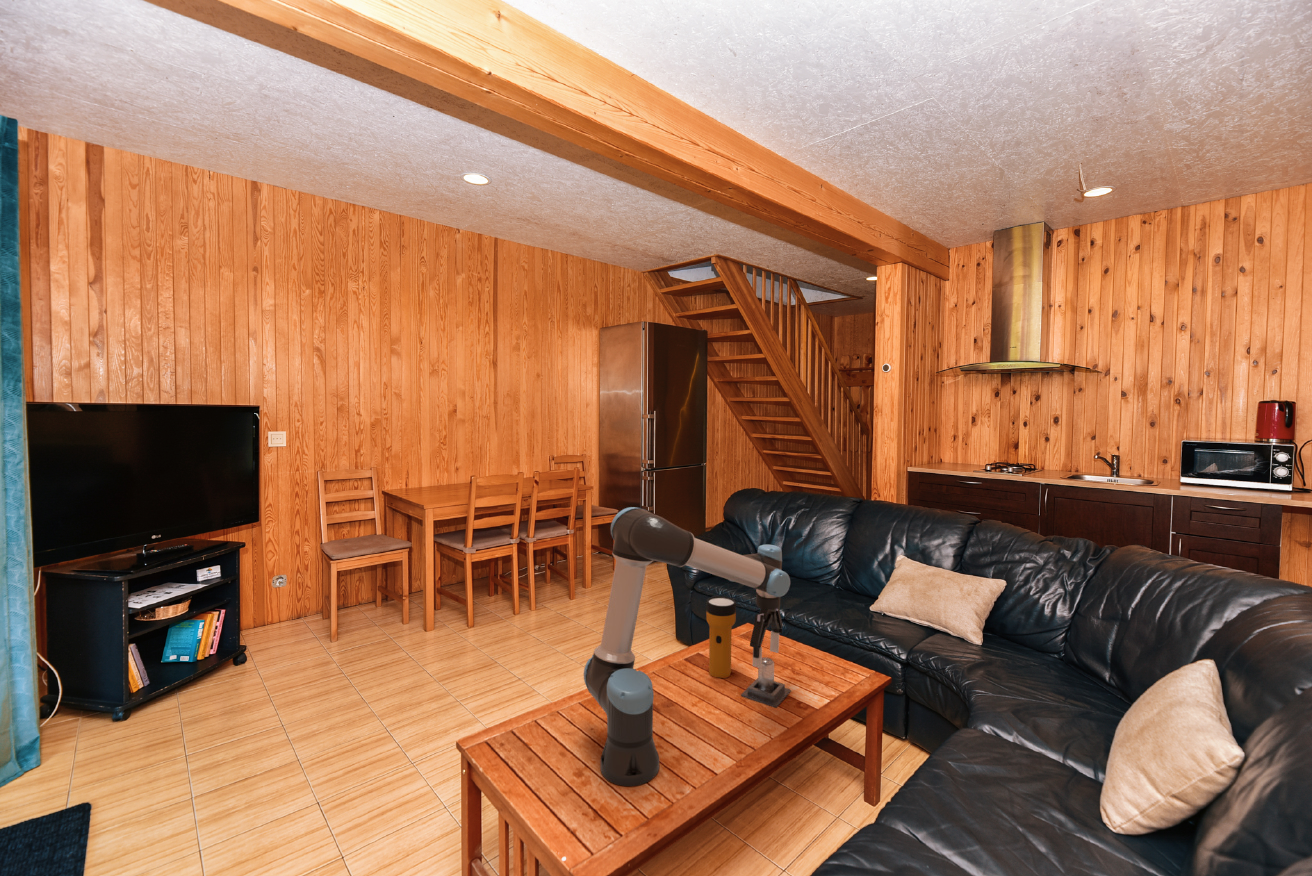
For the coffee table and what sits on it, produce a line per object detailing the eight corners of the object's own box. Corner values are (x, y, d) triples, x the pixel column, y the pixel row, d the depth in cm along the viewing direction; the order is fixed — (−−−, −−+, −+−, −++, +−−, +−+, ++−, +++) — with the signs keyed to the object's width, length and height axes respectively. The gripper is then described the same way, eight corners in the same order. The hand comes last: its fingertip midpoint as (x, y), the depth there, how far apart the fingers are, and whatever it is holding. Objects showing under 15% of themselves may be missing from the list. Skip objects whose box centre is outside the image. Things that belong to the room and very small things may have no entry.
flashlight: (738, 596, 196) (733, 606, 187) (737, 668, 198) (732, 682, 189) (709, 593, 199) (703, 603, 190) (709, 664, 201) (703, 677, 192)
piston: (770, 697, 177) (770, 665, 177) (755, 693, 180) (755, 661, 179) (776, 691, 182) (776, 659, 181) (761, 686, 184) (762, 655, 184)
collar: (776, 708, 173) (776, 699, 173) (741, 696, 180) (741, 688, 179) (791, 691, 183) (791, 683, 182) (756, 680, 189) (757, 673, 189)
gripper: (763, 607, 166) (760, 677, 168) (794, 586, 187) (791, 648, 188) (740, 602, 171) (737, 670, 172) (772, 582, 191) (770, 643, 192)
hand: (765, 659), depth 180 cm, fingers open, 13 cm apart
